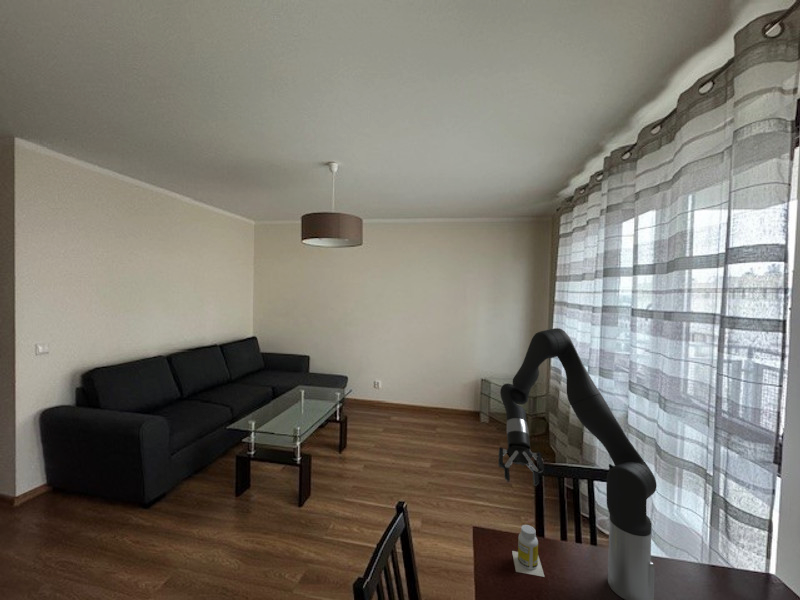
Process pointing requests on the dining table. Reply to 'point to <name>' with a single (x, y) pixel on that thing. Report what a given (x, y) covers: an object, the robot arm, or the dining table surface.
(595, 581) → the dining table surface
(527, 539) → the supplement bottle
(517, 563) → the tile
